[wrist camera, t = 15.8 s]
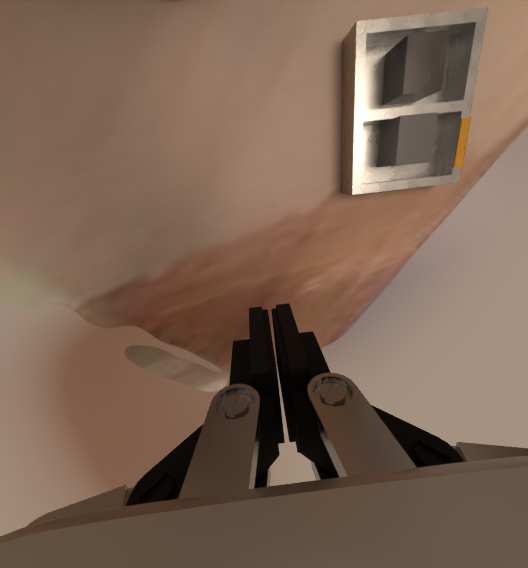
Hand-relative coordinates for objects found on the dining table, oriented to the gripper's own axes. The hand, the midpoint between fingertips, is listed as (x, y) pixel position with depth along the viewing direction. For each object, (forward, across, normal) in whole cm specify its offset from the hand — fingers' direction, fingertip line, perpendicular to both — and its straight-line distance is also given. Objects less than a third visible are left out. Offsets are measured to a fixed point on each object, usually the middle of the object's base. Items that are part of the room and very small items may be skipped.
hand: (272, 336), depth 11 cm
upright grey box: (+26, -18, -8) cm, 33 cm away
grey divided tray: (+27, -18, -11) cm, 35 cm away
